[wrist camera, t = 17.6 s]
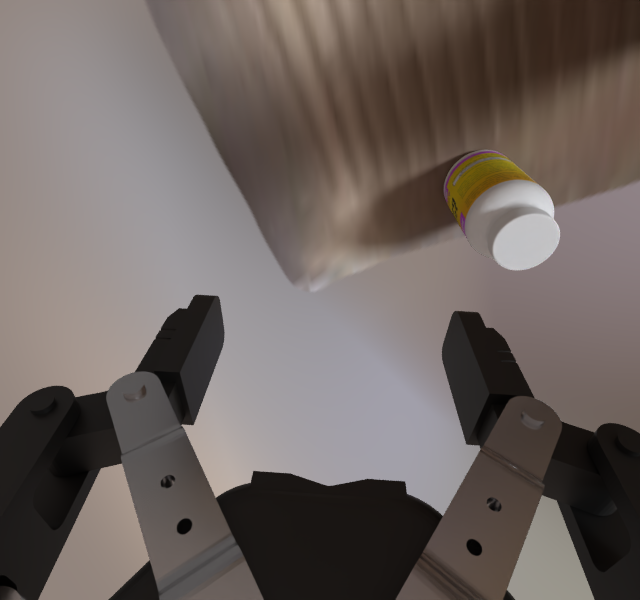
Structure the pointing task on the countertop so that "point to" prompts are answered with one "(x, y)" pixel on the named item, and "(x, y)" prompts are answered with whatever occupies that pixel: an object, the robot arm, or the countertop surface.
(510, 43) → the countertop surface
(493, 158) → the supplement bottle
